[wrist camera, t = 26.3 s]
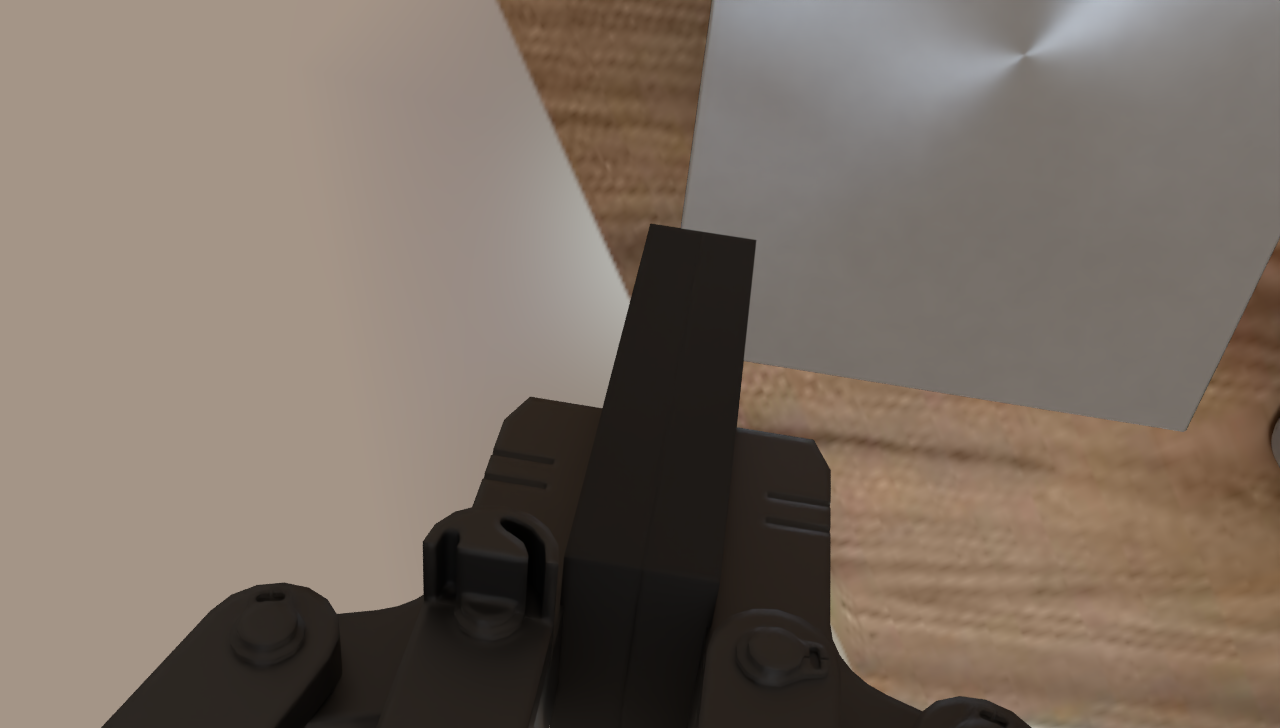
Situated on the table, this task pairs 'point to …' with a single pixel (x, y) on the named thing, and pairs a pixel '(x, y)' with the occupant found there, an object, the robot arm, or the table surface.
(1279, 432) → the spray bottle
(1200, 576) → the table surface
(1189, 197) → the lid
